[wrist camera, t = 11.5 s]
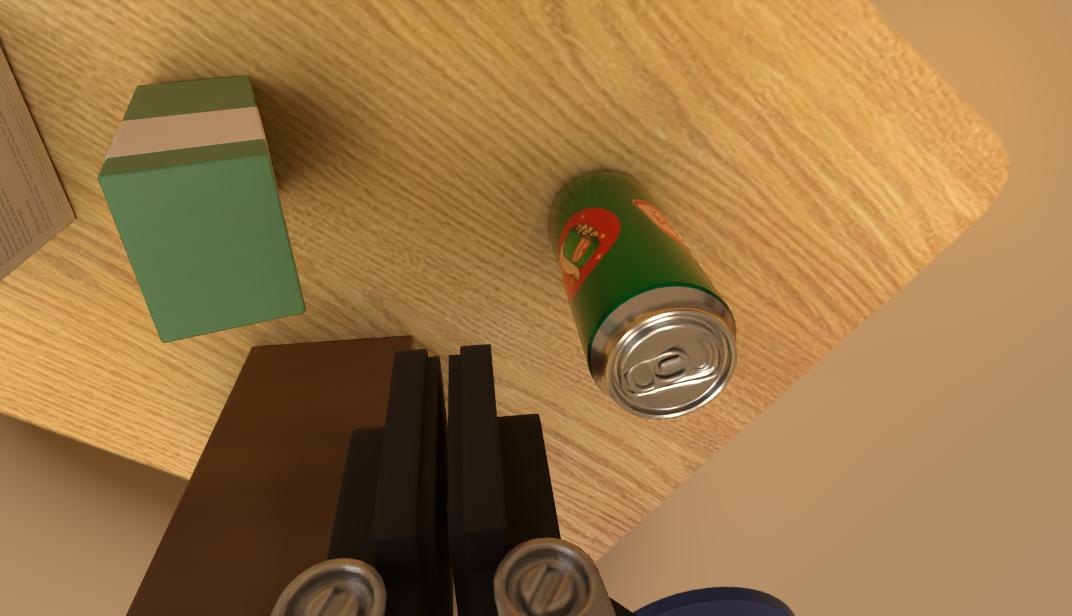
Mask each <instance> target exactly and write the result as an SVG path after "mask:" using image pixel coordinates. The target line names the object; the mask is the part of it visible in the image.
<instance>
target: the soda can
mask: <svg viewBox="0 0 1072 616" xmlns="http://www.w3.org/2000/svg"><path fill="white" fill-rule="evenodd" d="M548 231H549V237H550V240H551V244H552V247H553V250H554V254H555V257H556V260H557V264H558V267H559V270H560V274H561V277H562V280H563V284H564V287H565V290H566V294H567V297H568V300H569V304H570V307H571V310H572V314H573V317H574V321H575V324H576V327H577V331H578V334H579V337H580V341H581V344H582V347H583V351H584V354H585V357H586V361H587V364H588V367H589V370H590V373H591V376H592V378H593V379H594V381H595V383H596V384H597V385H598V387H599V388H600V389H601V390H602V391H603V392H604V393H606V394H607V395H608V396H609V397H611V398H612V399H613V400H614V401H615V402H616V403H617V404H618V405H619V406H620V407H621V408H623V409H624V410H626V411H627V412H629V413H631V414H633V415H636V416H639V417H643V418H648V419H669V418H675V417H679V416H683V415H686V414H689V413H691V412H693V411H696V410H698V409H699V408H701V407H703V406H705V405H706V404H708V403H709V402H710V401H712V400H713V399H714V398H715V397H716V396H717V395H718V394H719V393H721V391H722V390H723V389H724V388H725V386H726V385H727V384H728V382H729V380H730V379H731V377H732V375H733V372H734V370H735V366H736V362H737V348H736V325H735V320H734V317H733V315H732V312H731V311H730V309H729V307H728V306H727V304H726V303H725V301H724V300H723V298H722V297H721V296H720V294H719V293H718V291H717V290H716V288H715V287H714V286H713V284H712V283H711V281H710V280H709V279H708V277H707V276H706V274H705V273H704V271H703V270H702V269H701V267H700V266H699V264H698V263H697V261H696V260H695V259H694V257H693V256H692V254H691V253H690V252H689V250H688V249H687V247H686V246H685V244H684V243H683V242H682V240H681V239H680V237H679V236H678V234H677V233H676V232H675V230H674V229H673V227H672V226H671V225H670V223H669V222H668V220H667V219H666V217H665V216H664V215H663V213H662V212H661V210H660V209H659V207H658V206H657V205H656V203H655V202H654V200H653V199H652V198H651V196H650V195H649V193H648V192H647V190H646V189H645V188H644V187H643V186H642V185H641V184H640V183H639V182H638V181H637V180H635V179H634V178H632V177H630V176H628V175H626V174H623V173H619V172H613V171H599V172H594V173H590V174H587V175H584V176H582V177H580V178H578V179H576V180H575V181H573V182H572V183H570V184H569V185H568V186H567V187H566V188H565V189H564V190H563V191H562V192H561V193H560V194H559V196H558V197H557V198H556V200H555V202H554V204H553V206H552V208H551V211H550V215H549V220H548Z"/></svg>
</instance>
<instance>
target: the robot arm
mask: <svg viewBox="0 0 1072 616" xmlns="http://www.w3.org/2000/svg"><path fill="white" fill-rule="evenodd" d="M453 579H454V586H455V595H456V602H457V610H458V616H637V615H635V614H634V613H632V612H631V611H629V610H628V609H626V608H624V607H623V606H622V605H620V604H619V603H617V602H616V601H614V600H613V599H611V598H610V597H609V596H608V593H607V591H606V588H605V586H604V583H603V581H602V578H601V576H600V573H599V571H598V569H597V567H596V566H595V564H594V562H593V560H592V559H591V557H590V556H589V555H588V554H586V553H585V552H584V551H583V550H582V549H581V548H580V547H578V546H576V545H574V544H572V543H570V542H568V541H565V540H561V537H560V531H559V526H558V520H557V514H556V508H555V502H554V497H553V491H552V485H551V479H550V473H549V468H548V462H547V456H546V450H545V444H544V439H543V433H542V427H541V421H540V417H539V414H526V415H514V416H503V417H497V412H496V400H495V389H494V378H493V366H492V355H491V344H485V345H472V346H461V347H460V355H449V386H448V425H447V416H446V408H445V399H444V390H443V381H442V373H441V364H440V357H439V356H433V357H428V352H427V349H418V350H404V351H396V352H395V355H394V362H393V369H392V377H391V385H390V392H389V400H388V408H387V415H386V423H385V426H383V427H371V428H359V429H354V430H353V432H352V434H351V438H350V443H349V448H348V453H347V458H346V463H345V468H344V474H343V479H342V484H341V489H340V494H339V499H338V505H337V510H336V515H335V520H334V525H333V530H332V536H331V541H330V546H329V551H328V556H327V561H325V562H322V563H319V564H316V565H314V566H312V567H310V568H309V569H307V570H305V571H304V572H302V573H301V574H299V575H298V576H297V577H296V578H295V579H294V580H293V581H292V582H291V583H290V584H289V585H288V586H287V587H286V588H285V589H284V590H283V592H282V594H281V596H280V597H279V599H278V601H277V602H276V604H275V606H274V609H273V611H272V614H271V616H453Z"/></svg>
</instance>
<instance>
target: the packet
mask: <svg viewBox="0 0 1072 616" xmlns="http://www.w3.org/2000/svg"><path fill="white" fill-rule="evenodd" d="M98 180H99V183H100V186H101V188H102V191H103V193H104V196H105V198H106V201H107V204H108V206H109V209H110V211H111V214H112V216H113V219H114V222H115V224H116V227H117V229H118V232H119V234H120V237H121V239H122V242H123V245H124V247H125V250H126V252H127V255H128V257H129V260H130V263H131V265H132V268H133V270H134V273H135V275H136V278H137V281H138V283H139V286H140V288H141V291H142V293H143V296H144V299H145V301H146V304H147V306H148V309H149V311H150V314H151V317H152V319H153V322H154V324H155V327H156V329H157V332H158V335H159V337H160V340H161V341H162V342H163V343H166V342H171V341H176V340H180V339H185V338H190V337H194V336H199V335H204V334H208V333H213V332H218V331H222V330H227V329H232V328H236V327H241V326H245V325H250V324H255V323H259V322H264V321H269V320H273V319H278V318H283V317H287V316H292V315H297V314H301V313H305V312H306V308H305V303H304V299H303V295H302V291H301V285H300V281H299V276H298V272H297V268H296V264H295V259H294V255H293V251H292V247H291V243H290V238H289V234H288V230H287V226H286V221H285V217H284V213H283V209H282V205H281V200H280V196H279V192H278V188H277V184H276V179H275V175H274V171H273V167H272V162H271V158H270V154H269V150H268V146H267V141H266V137H265V134H264V130H263V126H262V122H261V118H260V114H259V110H258V108H257V105H256V101H255V97H254V93H253V89H252V85H251V82H250V78H249V76H237V77H227V78H216V79H205V80H194V81H183V82H172V83H161V84H150V85H140V86H137V88H136V90H135V93H134V95H133V97H132V100H131V102H130V104H129V106H128V109H127V111H126V113H125V116H124V118H123V120H122V121H121V122H120V124H119V127H118V129H117V131H116V133H115V136H114V138H113V140H112V143H111V145H110V147H109V149H108V152H107V154H106V156H105V162H104V164H103V167H102V169H101V171H100V173H99V176H98Z"/></svg>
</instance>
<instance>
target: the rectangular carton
mask: <svg viewBox="0 0 1072 616" xmlns="http://www.w3.org/2000/svg"><path fill="white" fill-rule="evenodd" d="M74 220H75V216H74V213H73V211H72V208H71V206H70V204H69V202H68V200H67V197H66V195H65V193H64V191H63V188H62V186H61V184H60V181H59V179H58V177H57V175H56V172H55V170H54V168H53V165H52V163H51V161H50V158H49V156H48V154H47V152H46V149H45V147H44V145H43V142H42V140H41V138H40V136H39V133H38V131H37V129H36V126H35V124H34V122H33V120H32V117H31V115H30V113H29V110H28V108H27V106H26V104H25V101H24V99H23V97H22V95H21V92H20V90H19V88H18V85H17V83H16V81H15V79H14V76H13V74H12V72H11V69H10V67H9V65H8V63H7V60H6V58H5V56H4V54H3V51H2V49H1V47H0V281H1V280H2V279H4V278H5V277H6V276H7V275H9V274H10V273H11V272H12V271H13V270H15V269H16V268H17V267H18V266H19V265H21V264H22V263H23V262H24V261H25V260H27V259H28V258H29V257H30V256H32V255H33V254H34V253H35V252H36V251H38V250H39V249H40V248H41V247H42V246H44V245H45V244H46V243H47V242H48V241H49V240H51V239H52V238H53V237H54V236H56V235H57V234H58V233H59V232H61V231H62V230H63V229H64V228H66V227H67V226H68V225H70V224H71V223H72V222H73V221H74Z"/></svg>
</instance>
